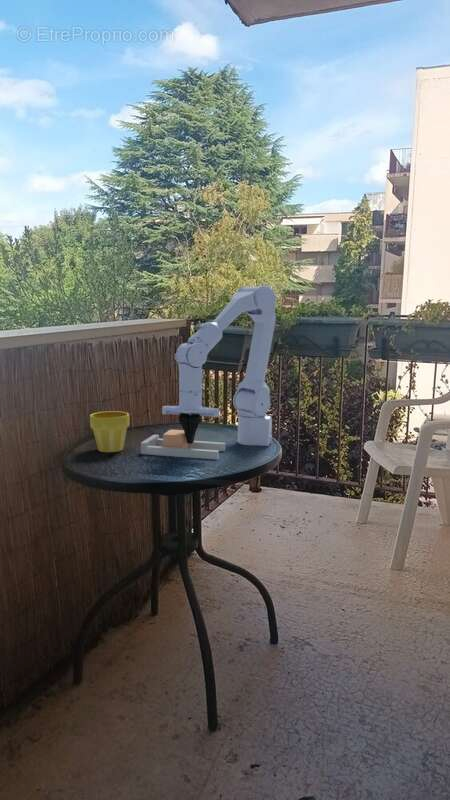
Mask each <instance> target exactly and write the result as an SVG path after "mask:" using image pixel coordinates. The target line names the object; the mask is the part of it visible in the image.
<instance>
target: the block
mask: <svg viewBox="0 0 450 800" xmlns="http://www.w3.org/2000/svg"><path fill="white" fill-rule="evenodd" d="M162 437H163V438H162V439H163V447H177V448H189V444H188V443H187V440H186V436H185V433H184V430H183V429H169V430H167V431H166V432H165V433H163V434H162Z"/></svg>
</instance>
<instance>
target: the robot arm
mask: <svg viewBox="0 0 450 800" xmlns="http://www.w3.org/2000/svg"><path fill="white" fill-rule="evenodd" d="M277 298H278V297H277V295H276V294H275V292H274V290H273V289H272V288H271V286H269V285H264V284H263V285H257V286H247V285H246V286H245V285H244V286H241V287H239V288H238V290H237V291H236V292H235V293H233V294H232V297H231V300H230V301H229V302H228V303H227V304H226V305H225V306H224V308H223V309H222V310H221V312H220V313H219V314H218V315H217V316H216V317H215V319H213V320H212V321H206V322H204V323H203V322H202V323H201V324H200V325H199V329H198V330H197V331H196V332H195V333H194V334H193V336H190V337H188V339H187V342H184V343H182V344H180V345H179V346H178V347H177V349H176V353H174V359H175V361H176V363H177V365H178V376H179V377H178V386H179V387H178V391H179V392H178V393H179V395H178V398H179V399H178V400H179V401H178V405H164V406H161V407H162V409H161V411H162V413H161V414H162V415H177V416H178V415H179V417H178V422H179V423H180V425H181V427H182V430H184V433H185V436H186V440H187V443H188V444H192V443H193V442H194V441H195V437H196V433H197V430H198V426H199V424H200V422H201V419H202V418H203V417H212V418H219V416H220V408H216V407H207V406H203V405H202V403H203V401H202V400H203V397H202V395H203V391H202V389H203V387H202V386H203V382H202V381H203V378H202V377H203V376H202V375H203V365H204V364H206V362H207V358H208V354H209V352H210V351H211V350H213V348H215V347H216V345H217V344H218V343H219V342H220V341H221V340H222V339H223V331H224V330H225V329H226V328H227V327H229V325H230V324H232V323H233V321H235V320H236V319H237V318H238V317H239V316H240V315H241V314H242V313H246V314H247V316H249V317H250V318H251V320H252V321H253V322H254V327H253V331H252V337H251V342H250V343H251V344H250V349H249V355H248V361H247V365H246V371H245V377H244V379H243V380H242V381H240V382H239V383H238V385H237V389H236V391H235V394H234V395H233V399H232V403H233V407H234V409H236V413H237V414H238V415H237V416H238V417H237V420H238V421H237V443H238V444H240V445H244V446H262V447H269V446H270V444H271V443H272V442H273V441H272V439H273V436H272V432H273V431H272V430H273V429H272V427H273V426H272V424H273V420H272V415H266V414H267V413H268V412H269V411H270V410H269V409H270V407H271V399H270V394H271V393H270V392H271V389H270V388H269V386H268V385H267V384H266V382H265V380H266V374H267V370H268V366H269V365H268V364H269V360H270V353H271V348H272V342H273V337H274V333H275V332H274V331H275V327H276V326H275V325H276V318H277V317H276V309H275V308H276V302H277Z"/></svg>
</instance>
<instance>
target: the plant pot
mask: <svg viewBox="0 0 450 800" xmlns="http://www.w3.org/2000/svg"><path fill="white" fill-rule="evenodd" d="M89 426H90V429H92V431H93V434H94V438H95V442H96V443H95V444H96V445H97V447H96V448H97V449H98V451H99V452H101V453H117V452H121V451H123V450H124V448H125V447H124V446H125V440H126V437H127V436H126V435H127V430H128V427H130V413H128V412H126V411H119V410H118V411H117V410H116V411H115V410H110V411H109V410H108V411H107V410H106V411H98V412H93V413H91V414H89Z"/></svg>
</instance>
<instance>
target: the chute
mask: <svg viewBox="0 0 450 800" xmlns="http://www.w3.org/2000/svg"><path fill="white" fill-rule="evenodd" d="M226 447H227V443H226V442H219V441H218V442H217V441H205V440H194V442H193V443H192V444H189V448H177V447H163V438H160V434H153V435H151V436H149V437H147V438H145V440H142V442H140V454H141V455H149V456H150V455H151V456H152V455H153V456H163V457H176V458H191V459H204V460H205V459H207V460H219V458H220V452H226V450H227V449H226Z"/></svg>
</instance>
